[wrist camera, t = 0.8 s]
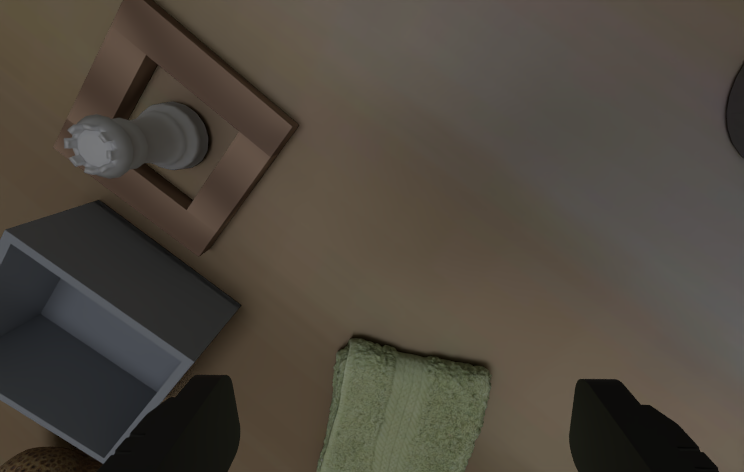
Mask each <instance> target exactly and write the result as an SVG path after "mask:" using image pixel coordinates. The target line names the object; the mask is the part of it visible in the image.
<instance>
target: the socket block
mask: <svg viewBox="0 0 744 472" xmlns="http://www.w3.org/2000/svg"><path fill="white" fill-rule="evenodd" d="M157 65H159V66H160V67H162V68H163V69H164V70H165V71H166V72H168V73H169V74H170V75H171V76H173V77H174V78H175V79H176V80H177V81H179V82H180V83H181V84H182V85H183V86H185V87H186V88H187V89H188V90H189V91H191V92H192V93H193V94H194V95H196V96H197V97H198V98H199V99H200V100H202V101H203V102H204V103H205V104H206V105H208V106H209V107H210V108H211V109H213V110H214V111H215V112H216V113H217V114H219V115H220V116H221V117H222V118H223V119H225V120H226V121H227V122H228V123H230V124H231V125H232V126H233V127H234V128H236V129H237V130H238V131H239V132H238V134H237V135H236V137H235V138H234V140H233V141H232V143H231V144H230V146H229V147H228V149H227V150H226V152H225V153H224V155H223V156H222V158H221V159H220V161H219V162H218V164H217V165H216V167H215V168H214V170H213V171H212V173H211V174H210V176H209V177H208V179H207V180H206V182H205V183H204V185H203V186H202V188H201V189H200V191H199V192H198V194H197V195H196V197H195V198H194V200H191V199H190V198H189V197H187V196H186V195H185V194H183V193H182V192H181V191H180V190H178V189H177V188H176V187H174V186H173V185H172V184H171V183H169V182H168V181H167V180H165V179H164V178H163V177H161V176H160V175H159V174H158V173H156V172H155V171H154V170H152V169H151V168H150V167H149V166H147V165H146V164H145V163H144V164H142V165H141V166H140V167H138V168H136V169H130V170H129V171H128V172H126V173H125V174H124V175H122V176H121V177H118V178H111V179H108V178H105V177H101V176H98V175H91V174H89V175H90V176H91V177H93V178H94V179H95V180H97V181H98V182H99V183H101V184H102V185H103V186H105V187H106V188H107V189H109V190H110V191H111V192H113V193H114V194H115V195H117V196H118V197H119V198H121V199H122V200H123V201H125V202H126V203H127V204H129V205H130V206H131V207H133V208H134V209H135V210H137V211H138V212H139V213H141V214H142V215H143V216H145V217H146V218H147V219H149V220H150V221H151V222H153V223H154V224H155V225H157V226H158V227H159V228H161V229H162V230H163V231H165V232H166V233H167V234H169V235H170V236H171V237H173V238H174V239H176V240H177V241H178V242H180V243H181V244H182V245H184V246H185V247H186V248H188V249H189V250H190V251H192V252H193V253H194V254H196V255H197V256H198V257H199V256H201V255H202V254H203V253H205V252H206V251H207V250H209V249H210V247H211V246H212V245H213V243H214V242H215V240H216V239H217V238H218V236H219V235H220V234H221V232H222V231H223V229H224V228H225V227H226V225H227V224H228V223H229V221H230V220H231V218H232V217H233V216H234V214H235V213H236V212H237V210H238V209H239V207H240V206H241V205H242V203H243V202H244V201H245V199H246V198H247V196H248V195H249V194H250V192H251V191H252V190H253V188H254V187H255V185H256V184H257V183H258V181H259V180H260V179H261V177H262V176H263V174H264V173H265V172H266V170H267V169H268V168H269V166H270V165H271V163H272V162H273V161H274V159H275V158H276V157H277V155H278V154H279V152H280V151H281V150H282V148H283V147H284V146H285V144H286V143H287V141H288V140H289V139H290V137H291V136H292V135H293V133H294V132H295V130H296V129H297V128H298V126H299V125H298V124H297V123H296V122H295V121H294V120H292V119H291V118H290V117H289V116H288V115H287V114H285V113H284V112H283V111H282V110H281V109H279V108H278V107H277V106H276V105H275V104H274V103H272V102H271V101H270V100H269V99H268V98H267V97H265V96H264V95H263V94H262V93H261V92H260V91H258V90H257V89H256V88H255V87H254V86H252V85H251V84H250V83H249V82H248V81H247V80H245V79H244V78H243V77H242V76H241V75H240V74H238V73H237V72H236V71H235V70H234V69H232V68H231V67H230V66H229V65H228V64H227V63H225V62H224V61H223V60H222V59H221V58H220V57H218V56H217V55H216V54H215V53H214V52H213V51H211V50H210V49H209V48H208V47H207V46H205V45H204V44H203V43H202V42H201V41H200V40H198V39H197V38H196V37H195V36H194V35H193V34H191V33H190V32H189V31H188V30H187V29H185V28H184V27H183V26H182V25H181V24H180V23H178V22H177V21H176V20H175V19H174V18H173V17H171V16H170V15H169V14H168V13H167V12H166V11H164V10H163V9H162V8H161V7H160V6H158V5H157V4H156V3H155V2H154V1H153V0H123V1H122V3H121V5H120V7H119V10H118V12H117V14H116V16H115V18H114V20H113V22H112V24H111V26H110V29H109V31H108V33H107V35H106V37H105V39H104V41H103V43H102V45H101V48H100V50H99V52H98V54H97V56H96V58H95V60H94V62H93V64H92V67H91V69H90V71H89V73H88V75H87V77H86V79H85V81H84V83H83V86H82V88H81V90H80V92H79V94H78V96H77V98H76V100H75V102H74V105H73V107H72V109H71V111H70V113H69V115H68V117H67V119H66V121H65V123H64V126H63V128H62V130H61V132H60V134H59V136H58V138H57V140H56V142H55V145H54V147H53V148H54V149H55V150H57V151H58V152H59V153H61V154H62V155H63V156H65V157H66V158H67V159H69V158H70V157H72V156H75V153H74V151H73V148H70V149H68V148H64V138H72V134H71V133H70V132H69V131H67V130H68V129H69V128H70V127H71V126H72V125H76V124H77V123H78V122H79V121H80V120H81V119H83V118H84V117H85V116H89V115H95V114H98V115H102V116H105V117H109V118H110V119H114V118H122V119H126V120H128V118H129V117H130V115H131V113H132V111H133V109H134V107H135V105H136V104H137V102H138V100H139V98H140V96H141V94H142V92H143V91H144V89H145V87H146V85H147V83H148V81H149V80H150V78H151V76H152V74H153V72H154V70H155V68H156V67H157ZM78 167H79V168H81V169H82V170H83V171H84V170H85V166H83V165H81V166H78ZM87 174H88V173H87Z"/></svg>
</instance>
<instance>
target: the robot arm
mask: <svg viewBox="0 0 744 472" xmlns="http://www.w3.org/2000/svg"><path fill="white" fill-rule="evenodd" d="M727 126H728V131H729V134H730V137H731V140H732V143H733V145H734V146H735V148H736V149H737V150H738V152H739V153H740V155H741V156H742V157H744V66H743V67H742V69H741V71H740V72H739V74H738V76H737V77H736V80H735V82H734V85H733V88H732V90H731V93H730V96H729V102H728V108H727ZM239 441H240V423H239V418H238V412H237V407H236V401H235V395H234V390H233V384H232V380H231V378H230V377H229V376H228V375H195V376H194V377H192V378H191V379H190V380H189V382H188V383H187V384H186V385H185V387H184V388H183V389H182V390H181V391H180V393H179V394H178V395H177V396H176V397H170V398H168V399H167V400H166V401H164V402H163V403H161V404H160V405H159V406H157V407H156V408H154V409H153V410H152V411H150V412H149V413H147V414H146V416H145V417H144V418H143V419H142V420H141V421H140V422H139V424H138V425H137V426H136V427H135V428H134V429H133V430H132V432H131V433H130V436H129V437H126V438H125V440H124V441H123V442H122V443H121V444H120V445H119V446H118V448H117V449H116V450H115V454H114V455H111V456H110V457H109V458H108V459H107V460H106V461H105V463H104V464H103V465H102V466H101V467H100V468H99V469H98V471H97V472H228V470H229V468H230V466H231V464H232V462H233V460H234V457H235V455H236V453H237V449H238V446H239ZM569 442H570V449H571V454H572V457H573V461H574V463H575V466H576V468H577V470H578V472H719V471H718V467H717V466H716V465H715V464H714V463H713V462H712V461H711V460H710V459H709V458H708V456H707V455H706V454H705V453H704V452H700V450H699V447H698V446H697V445H696V443H695V442H694V441H693V440H692V439H691V438H690V437H689V436H688V435H687V434H686V433H685V432H684V430H683V429H682V428H681V427H680V426H679V425H678V424H677V423H675V422H674V421H672V420H671V419H669V418H668V417H666V416H665V415H664V414H662V413H661V412H659V411H658V410H656V409H655V408H653V407H652V406H650V405H641V404H640V403H639V402H638V401H637V400H636V399H635V397H634V396H633V395H632V394H631V393H630V391H629V390H628V389H627V388H626V387H625V386H624V385H623V383H622V382H620V381H619V380H616V379H580V380H578V381H577V383H576V387H575V394H574V402H573V409H572V417H571V425H570V433H569Z"/></svg>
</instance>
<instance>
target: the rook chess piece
mask: <svg viewBox="0 0 744 472" xmlns="http://www.w3.org/2000/svg"><path fill="white" fill-rule="evenodd" d="M67 131H69V132H70V133H71V134H72V138H64V148H68V149H70V148H73V151H74V153H75V156H72V157H70V158H69V160H70V161H71V162H72V163H73V164H74V166H75V167H76V166H81V165H83V166H85V170H84V173H88V174H91V175H98V176H101V177H105V178H108V179H111V178H118V177H121V176H122V175H124V174H125V173H126V172H128V171H129V170H130V169H136V168H138V167H140V166H141V165H142V164H144V163H152V164H155V165H157V166H159V167H162V168H166V169H170V170H178V169H185V168H191V167H194V166H195V165H197V164H198V163H200V162H201V161H202V160H203V158H204V156H205V154H206V152H207V150H208V135H207V131H206V128H205V125H204V123H203V122H202V120H201V119H200V117H199V116H198V115H197V113H196V112H194V111H193V110H192V109H190V108H189V107H187V106H186V105H184V104H180V103H176V102H167V103H160V104H154V105H151V106H150V107H148V108H147V109H146V110H144V111H143V112H142V113H141V114H140V116H139V117H138V118H137V119H134V120H131V121H129V120H126V119H122V118H114V119H110V118H109V117H105V116H102V115H98V114H95V115H89V116H85V117H84V118H83V119H81V120H80V121H79V122H78V123H77V124H76V125H72V126H71V127H70V128H69V129H68V130H67Z"/></svg>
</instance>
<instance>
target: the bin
mask: <svg viewBox="0 0 744 472" xmlns="http://www.w3.org/2000/svg"><path fill="white" fill-rule="evenodd" d="M240 306H241V305H240V304H239V303H237V302H236V301H235V300H233V299H232V298H231V297H229V296H228V295H227V294H225V293H224V292H223V291H221V290H220V289H219V288H217V287H216V286H215V285H213V284H212V283H210V282H209V281H208V280H206V279H205V278H204V277H202V276H201V275H200V274H198V273H197V272H196V271H194V270H193V269H192V268H190V267H189V266H188V265H186V264H185V263H183V262H182V261H181V260H179V259H178V258H177V257H175V256H174V255H173V254H171V253H170V252H169V251H167V250H166V249H165V248H163V247H162V246H161V245H159V244H158V243H156V242H155V241H154V240H152V239H151V238H150V237H148V236H147V235H146V234H144V233H143V232H142V231H140V230H139V229H138V228H136V227H135V226H134V225H132V224H131V223H129V222H128V221H127V220H125V219H124V218H123V217H121V216H120V215H119V214H117V213H116V212H115V211H113V210H112V209H111V208H109V207H108V206H107V205H105V204H104V203H102V202H101V201H100V200H97V201H94V202H91V203H88V204H85V205H82V206H78V207H75V208H72V209H69V210H66V211H63V212H60V213H56V214H53V215H50V216H47V217H44V218H41V219H38V220H34V221H31V222H28V223H25V224H22V225H19V226H15V227H12V228H9V229H6V230H5V231H4V233H3V235H2V237H1V239H0V400H1V401H3V402H5V403H6V404H8V405H9V406H11V407H13V408H14V409H16V410H17V411H19V412H21V413H22V414H24V415H25V416H27V417H29V418H30V419H32V420H33V421H35V422H37V423H38V424H40V425H41V426H43V427H45V428H46V429H48V430H50V431H51V432H53V433H54V434H56V435H58V436H59V437H61V438H62V439H64V440H66V441H67V442H69V443H70V444H72V445H74V446H75V447H77V448H78V449H80V450H82V451H83V452H85V453H86V454H88V455H90V456H91V457H93V458H94V459H96V460H98V461H99V462H101V463H102V464H104V463H105V461H106V460H107V459H108V458H109V457H110V456H111V455H114V454H115V450H116V449H117V448H118V446H119V445H120V444H121V443H122V442H123V441H124V440H125V438H126V437H129V436H130V433H131V432H132V430H133V429H134V428H135V427H136V426H137V425H138V424H139V422H140V421H141V420H142V419H143V418H144V417H145V416H146V414H147V413H149V412H150V411H152V410H153V409H154V408H156V407H157V406H159V404H160V403H161V402H162V401H163V400H164V398H165V397H166V396H167V395H168V394H169V392H170V391H171V390H172V389H173V388H174V386H175V385H176V384H177V383H178V382H179V380H180V379H181V378H182V377H183V375H184V374H185V373H186V372H187V371H188V369H189V368H190V367H191V366H192V365H193V363H194V362H195V361H196V360H197V358H198V357H199V356H200V355H201V354H202V352H203V351H204V350H205V349H206V348H207V346H208V345H209V344H210V343H211V341H212V340H213V339H214V338H215V337H216V335H217V334H218V333H219V332H220V331H221V329H222V328H223V327H224V326H225V324H226V323H227V322H228V321H229V320H230V318H231V317H232V316H233V315H234V314H235V312H236V311H237V310H238V309H239V308H240Z"/></svg>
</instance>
